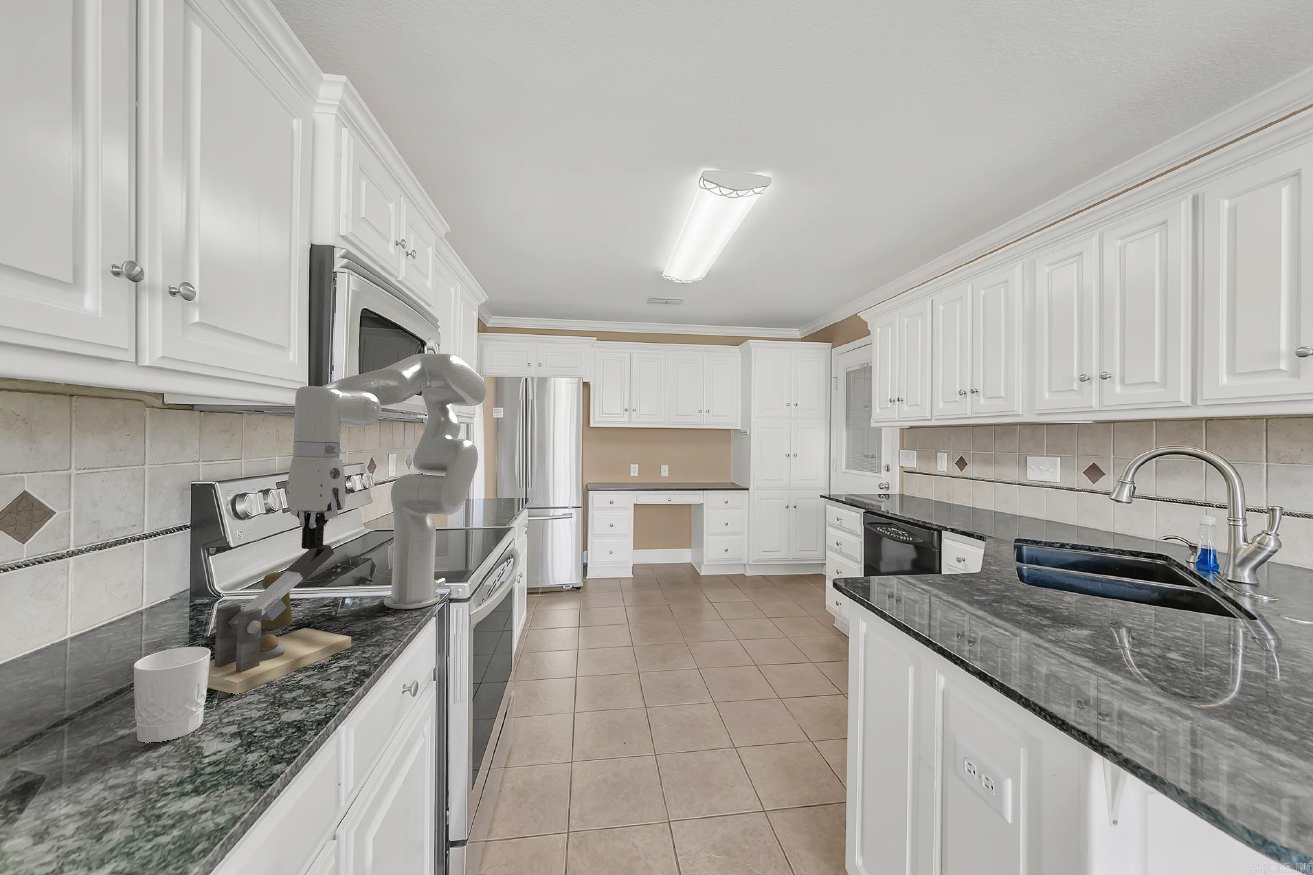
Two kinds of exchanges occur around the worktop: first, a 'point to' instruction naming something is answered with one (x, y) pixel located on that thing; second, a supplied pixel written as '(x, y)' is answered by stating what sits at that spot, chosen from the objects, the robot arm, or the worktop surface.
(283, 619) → the cork
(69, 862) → the worktop surface
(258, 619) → the nutcracker base
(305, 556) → the lever
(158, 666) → the white cup
